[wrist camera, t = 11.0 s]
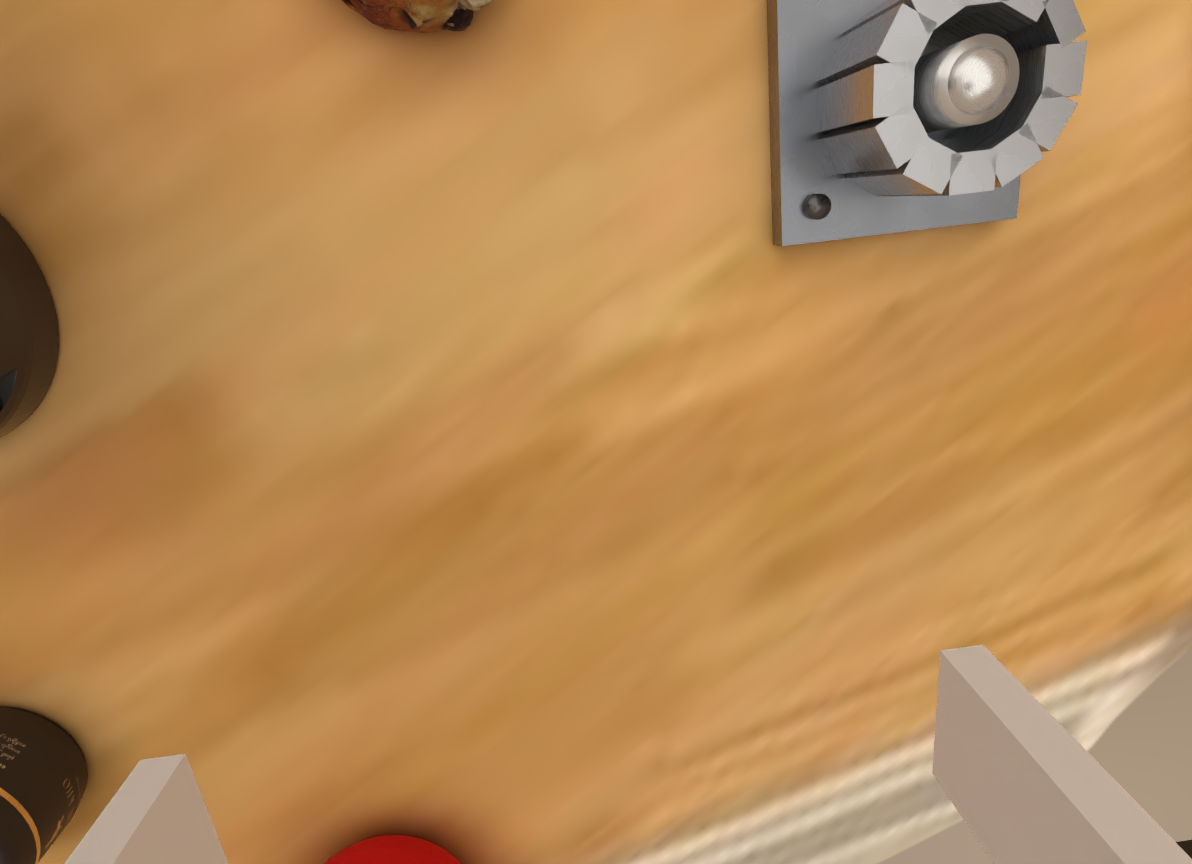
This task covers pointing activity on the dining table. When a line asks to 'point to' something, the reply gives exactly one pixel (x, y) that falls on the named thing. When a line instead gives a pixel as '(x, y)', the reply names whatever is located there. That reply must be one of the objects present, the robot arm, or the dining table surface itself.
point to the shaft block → (798, 161)
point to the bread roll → (419, 13)
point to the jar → (36, 784)
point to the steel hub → (886, 88)
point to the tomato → (393, 852)
